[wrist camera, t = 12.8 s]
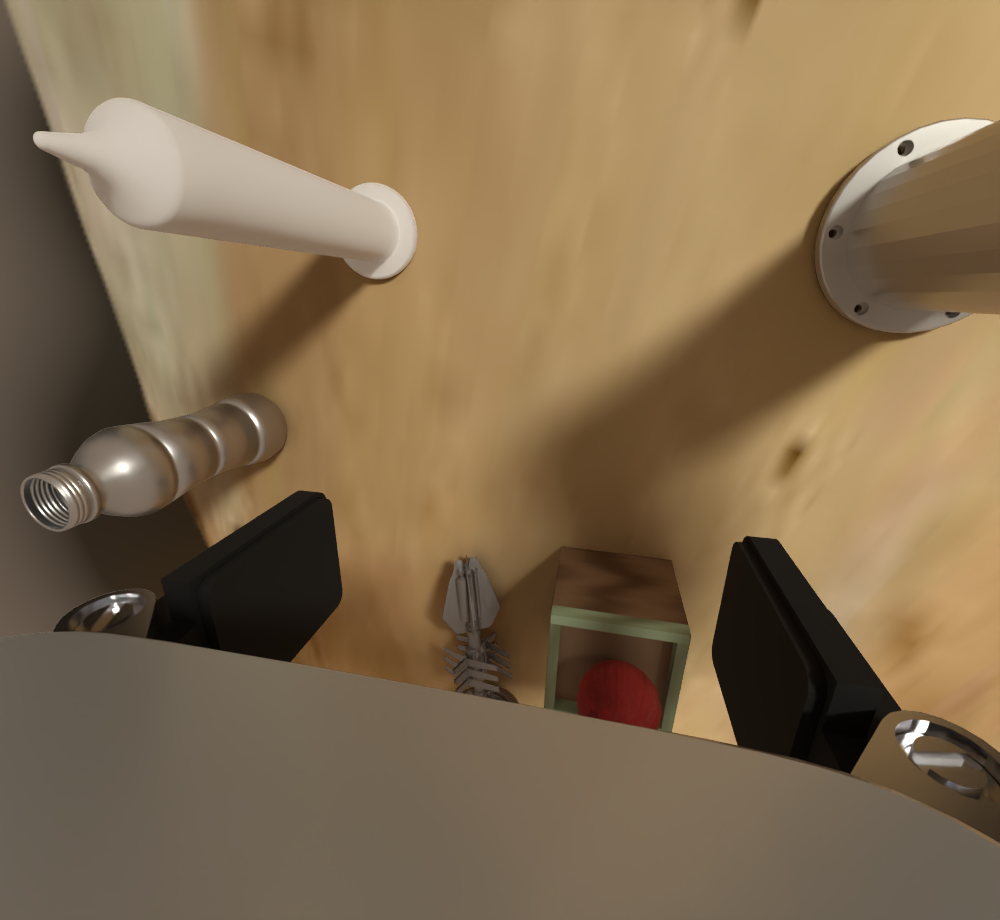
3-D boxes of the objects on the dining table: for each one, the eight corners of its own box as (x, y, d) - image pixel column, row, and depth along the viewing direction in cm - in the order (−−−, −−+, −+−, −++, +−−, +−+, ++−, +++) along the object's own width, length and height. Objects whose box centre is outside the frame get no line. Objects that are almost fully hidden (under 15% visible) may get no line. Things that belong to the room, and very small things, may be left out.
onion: (606, 704, 38) (607, 803, 31) (564, 653, 37) (555, 743, 30) (669, 678, 36) (687, 777, 29) (627, 624, 35) (634, 712, 28)
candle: (395, 295, 40) (109, 296, 17) (325, 251, 40) (-61, 189, 16) (432, 214, 37) (150, 78, 14) (357, 166, 37) (-53, -51, 14)
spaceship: (446, 861, 51) (506, 904, 47) (406, 567, 44) (473, 585, 39) (488, 803, 57) (544, 836, 53) (460, 537, 50) (522, 549, 45)
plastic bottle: (250, 455, 48) (32, 555, 30) (229, 391, 46) (-20, 455, 28) (304, 450, 47) (109, 553, 28) (285, 384, 45) (61, 447, 26)
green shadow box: (671, 560, 42) (691, 635, 33) (654, 654, 46) (668, 746, 37) (561, 546, 44) (551, 614, 35) (554, 638, 48) (542, 722, 39)
